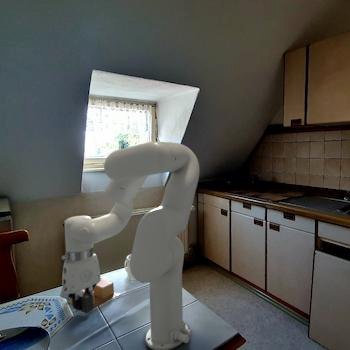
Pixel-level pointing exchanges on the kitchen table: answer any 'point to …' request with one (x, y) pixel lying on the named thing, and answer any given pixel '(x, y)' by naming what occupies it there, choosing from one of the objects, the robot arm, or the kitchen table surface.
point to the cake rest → (104, 288)
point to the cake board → (101, 301)
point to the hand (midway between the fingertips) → (82, 306)
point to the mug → (128, 270)
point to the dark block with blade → (84, 301)
